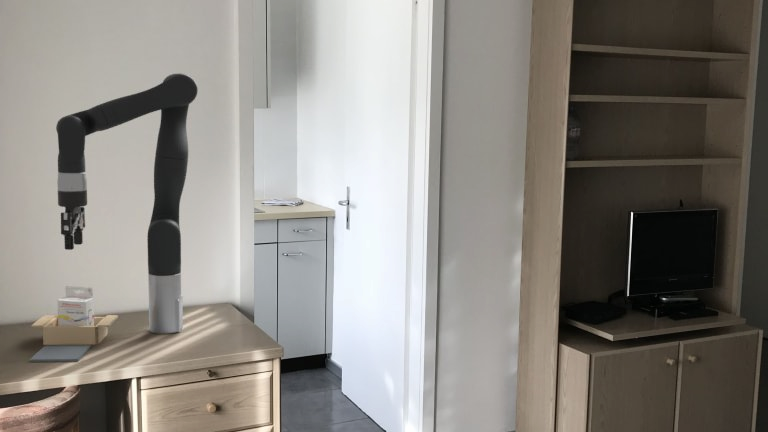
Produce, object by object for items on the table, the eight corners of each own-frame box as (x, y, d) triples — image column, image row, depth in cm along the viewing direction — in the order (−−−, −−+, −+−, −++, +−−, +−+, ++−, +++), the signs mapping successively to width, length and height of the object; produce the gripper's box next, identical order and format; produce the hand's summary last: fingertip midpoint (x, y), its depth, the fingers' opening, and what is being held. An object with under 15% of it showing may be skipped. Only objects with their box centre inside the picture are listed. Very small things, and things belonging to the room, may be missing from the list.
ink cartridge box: (57, 341, 220) (55, 289, 218) (66, 336, 225) (64, 285, 223) (86, 342, 219) (85, 290, 217) (95, 337, 224) (93, 286, 222)
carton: (118, 333, 228) (118, 315, 228) (109, 344, 218) (108, 325, 217) (44, 333, 226) (44, 315, 226) (32, 344, 216) (31, 325, 215)
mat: (90, 347, 215) (90, 345, 215) (78, 361, 203) (78, 359, 203) (45, 347, 214) (45, 345, 214) (29, 361, 202) (29, 359, 202)
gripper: (79, 191, 210) (80, 251, 212) (93, 186, 224) (94, 242, 226) (49, 191, 209) (51, 251, 211) (66, 186, 223) (67, 242, 225)
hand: (73, 246), depth 219 cm, fingers open, 8 cm apart
